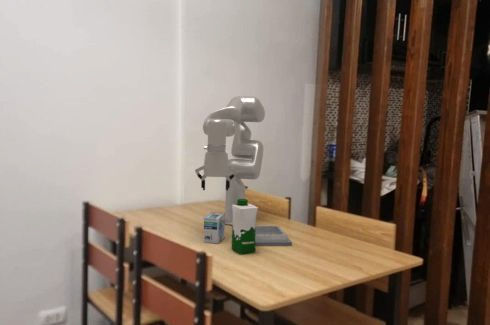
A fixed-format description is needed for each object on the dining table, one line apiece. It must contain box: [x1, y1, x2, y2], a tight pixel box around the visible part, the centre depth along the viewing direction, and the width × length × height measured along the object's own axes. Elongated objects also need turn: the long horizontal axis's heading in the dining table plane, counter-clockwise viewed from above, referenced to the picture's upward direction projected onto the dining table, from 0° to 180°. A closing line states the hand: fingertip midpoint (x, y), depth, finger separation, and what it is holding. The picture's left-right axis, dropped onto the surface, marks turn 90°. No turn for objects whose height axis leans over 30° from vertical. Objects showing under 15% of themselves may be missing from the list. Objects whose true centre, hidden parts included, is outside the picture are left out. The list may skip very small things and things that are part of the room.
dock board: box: [255, 232, 293, 247], centre depth 187 cm, size 19×19×2 cm
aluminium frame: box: [255, 225, 288, 241], centre depth 187 cm, size 15×15×2 cm
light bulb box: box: [203, 211, 226, 245], centre depth 183 cm, size 11×7×11 cm, turn 168°
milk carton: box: [231, 198, 259, 255], centre depth 170 cm, size 9×9×20 cm
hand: (215, 189), depth 182 cm, fingers open, 9 cm apart
